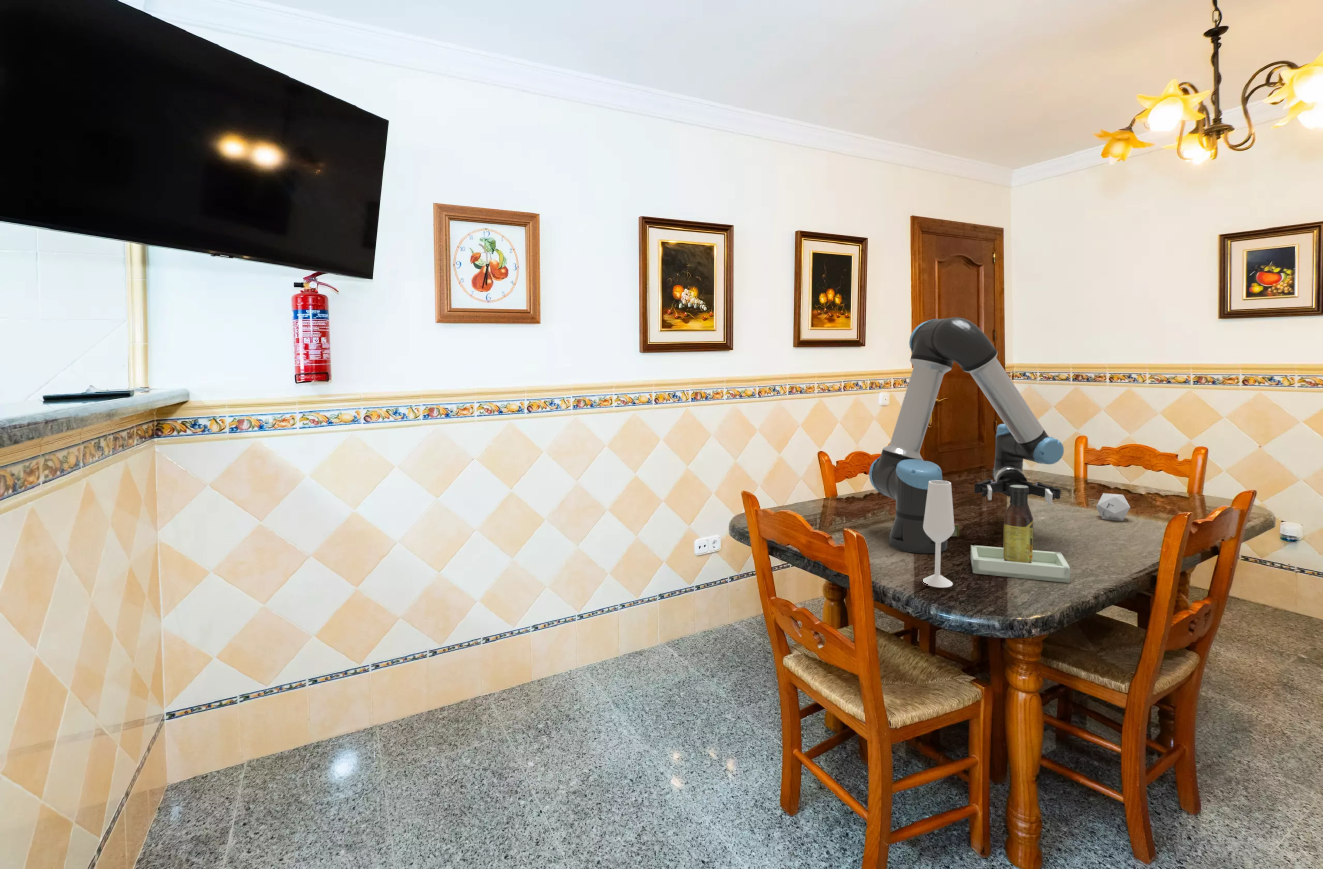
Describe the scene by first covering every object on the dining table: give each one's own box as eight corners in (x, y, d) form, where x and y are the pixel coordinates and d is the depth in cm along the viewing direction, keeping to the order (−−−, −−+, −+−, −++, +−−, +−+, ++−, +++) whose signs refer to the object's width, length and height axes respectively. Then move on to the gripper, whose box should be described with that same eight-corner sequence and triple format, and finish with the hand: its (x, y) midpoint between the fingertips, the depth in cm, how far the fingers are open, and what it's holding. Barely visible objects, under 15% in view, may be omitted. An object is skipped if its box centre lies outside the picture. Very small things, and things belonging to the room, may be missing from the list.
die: (1088, 517, 198) (1091, 498, 192) (1107, 502, 200) (1110, 482, 194) (1115, 531, 192) (1119, 512, 186) (1133, 516, 194) (1138, 496, 188)
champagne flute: (915, 579, 149) (917, 481, 145) (937, 575, 151) (940, 478, 148) (936, 589, 142) (939, 486, 139) (959, 584, 145) (962, 483, 142)
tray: (972, 573, 152) (973, 559, 151) (970, 558, 162) (970, 545, 162) (1069, 583, 144) (1070, 568, 143) (1060, 566, 154) (1060, 552, 154)
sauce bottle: (1036, 570, 149) (1039, 489, 147) (1007, 569, 150) (1010, 489, 148) (1026, 561, 155) (1029, 483, 153) (998, 560, 157) (1001, 483, 154)
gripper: (1060, 497, 175) (1075, 515, 156) (962, 491, 185) (965, 507, 166) (1062, 471, 174) (1078, 486, 155) (964, 466, 184) (966, 479, 165)
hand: (1019, 497), depth 161 cm, fingers open, 13 cm apart
